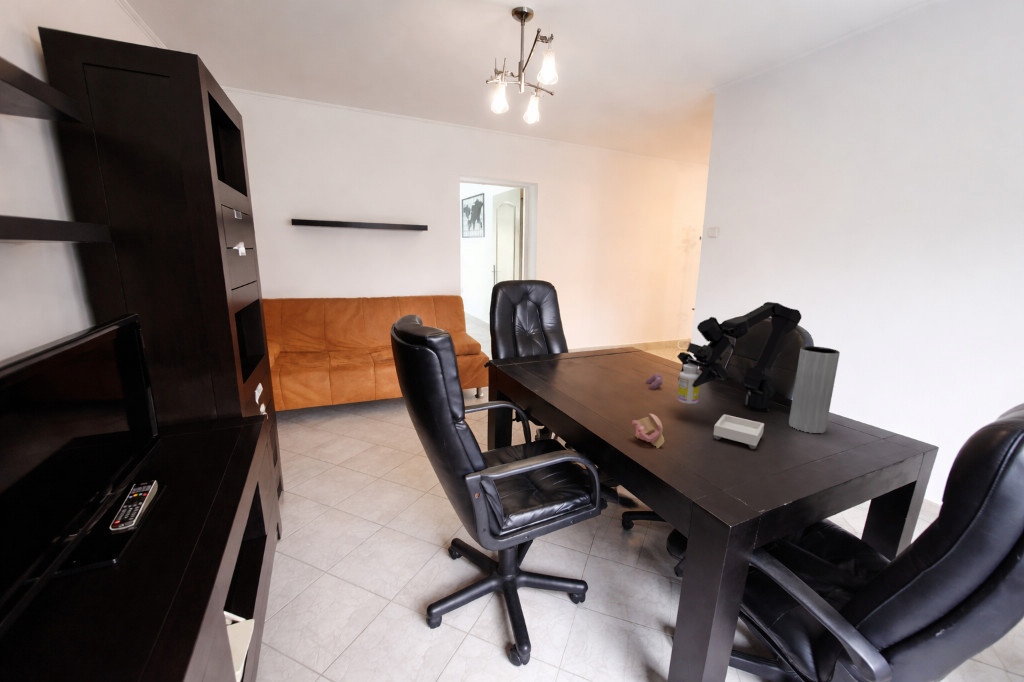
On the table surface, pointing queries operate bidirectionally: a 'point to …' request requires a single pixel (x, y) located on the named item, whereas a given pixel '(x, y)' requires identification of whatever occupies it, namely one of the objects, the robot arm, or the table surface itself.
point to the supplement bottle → (688, 384)
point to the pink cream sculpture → (649, 430)
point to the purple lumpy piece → (655, 381)
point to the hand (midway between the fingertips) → (686, 383)
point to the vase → (813, 388)
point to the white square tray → (739, 430)
